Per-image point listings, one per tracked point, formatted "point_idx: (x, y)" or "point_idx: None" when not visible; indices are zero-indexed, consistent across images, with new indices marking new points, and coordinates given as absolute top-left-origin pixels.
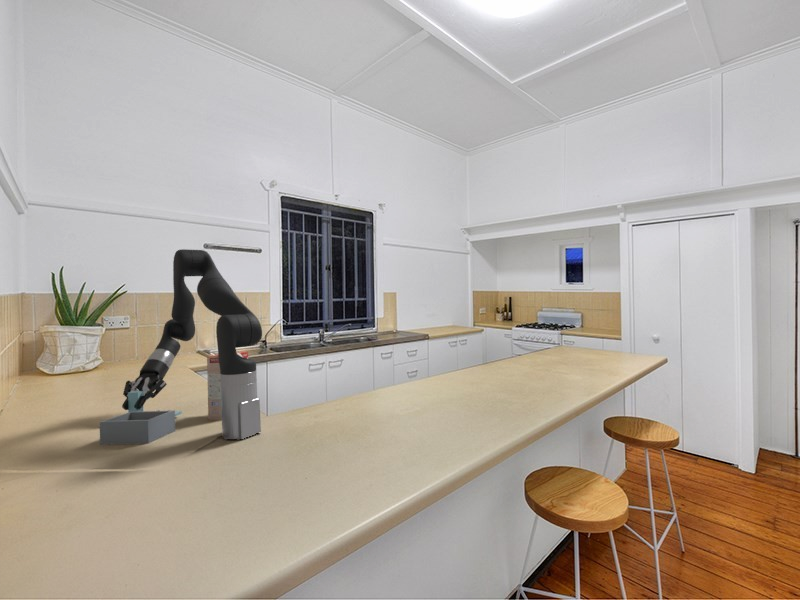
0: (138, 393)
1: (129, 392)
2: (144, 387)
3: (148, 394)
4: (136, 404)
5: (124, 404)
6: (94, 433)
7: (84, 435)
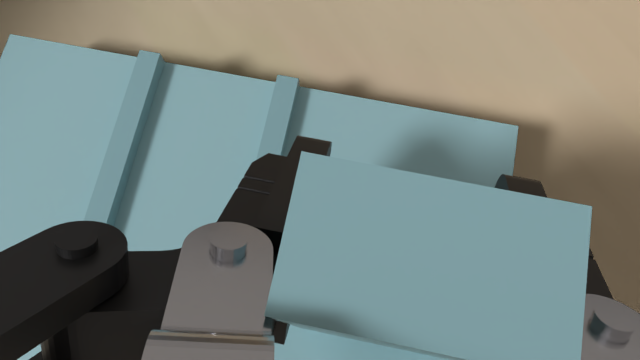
0: (298, 178)
1: (564, 226)
2: (209, 351)
3: (107, 237)
4: (297, 142)
5: (520, 187)
6: (584, 58)
7: (634, 21)
